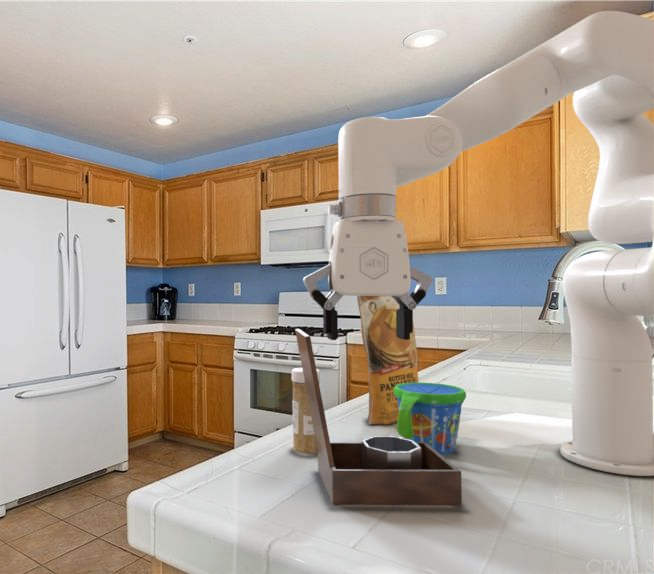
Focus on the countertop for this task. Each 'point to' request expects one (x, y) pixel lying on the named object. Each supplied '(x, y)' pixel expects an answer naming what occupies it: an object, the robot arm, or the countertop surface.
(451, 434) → the snack cup
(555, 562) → the countertop surface
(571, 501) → the countertop surface
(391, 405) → the pancake mix bag
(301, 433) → the sprinkles bottle
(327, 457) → the lid
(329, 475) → the chest
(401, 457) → the steel cup
